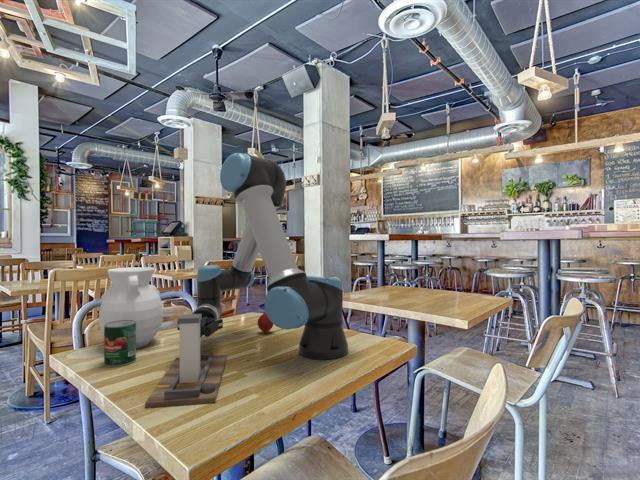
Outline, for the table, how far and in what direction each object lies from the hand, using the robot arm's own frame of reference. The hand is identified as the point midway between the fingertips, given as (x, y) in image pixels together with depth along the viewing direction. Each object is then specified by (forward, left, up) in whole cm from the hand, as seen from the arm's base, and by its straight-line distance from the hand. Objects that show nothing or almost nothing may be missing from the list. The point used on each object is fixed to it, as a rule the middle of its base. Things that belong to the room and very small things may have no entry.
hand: (189, 340), depth 87 cm
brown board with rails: (0, -1, -10) cm, 10 cm away
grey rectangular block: (-2, +2, -9) cm, 9 cm away
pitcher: (+36, -20, -10) cm, 42 cm away
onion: (0, -45, -10) cm, 46 cm away
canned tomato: (+27, -6, -10) cm, 29 cm away
